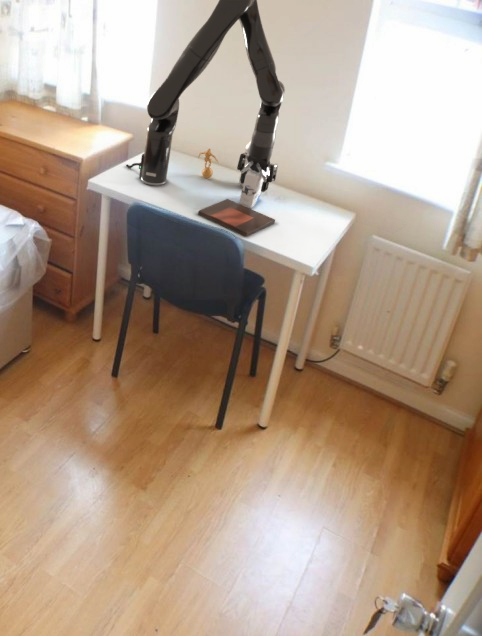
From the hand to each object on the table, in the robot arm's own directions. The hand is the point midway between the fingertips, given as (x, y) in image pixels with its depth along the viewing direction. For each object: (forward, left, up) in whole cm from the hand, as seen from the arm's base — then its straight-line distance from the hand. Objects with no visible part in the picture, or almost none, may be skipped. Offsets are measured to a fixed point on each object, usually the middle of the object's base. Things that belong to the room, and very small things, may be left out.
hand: (253, 187), depth 249 cm
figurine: (-23, +4, -6) cm, 24 cm away
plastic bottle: (-9, +11, -6) cm, 16 cm away
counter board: (+5, -15, -6) cm, 16 cm away
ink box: (0, 0, -6) cm, 6 cm away
